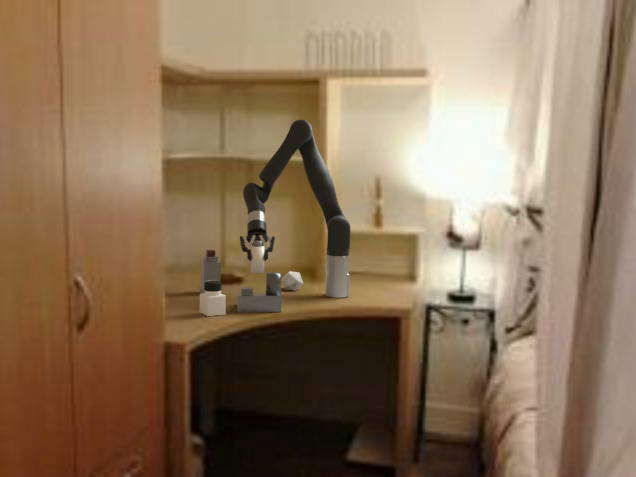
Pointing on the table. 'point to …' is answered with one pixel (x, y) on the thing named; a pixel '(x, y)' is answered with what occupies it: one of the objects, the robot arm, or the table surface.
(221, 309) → the medicine bottle
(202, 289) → the perfume bottle
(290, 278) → the die
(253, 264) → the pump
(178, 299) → the table surface
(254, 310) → the block
